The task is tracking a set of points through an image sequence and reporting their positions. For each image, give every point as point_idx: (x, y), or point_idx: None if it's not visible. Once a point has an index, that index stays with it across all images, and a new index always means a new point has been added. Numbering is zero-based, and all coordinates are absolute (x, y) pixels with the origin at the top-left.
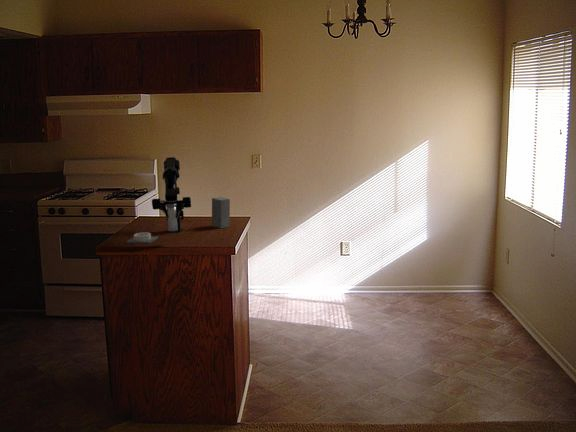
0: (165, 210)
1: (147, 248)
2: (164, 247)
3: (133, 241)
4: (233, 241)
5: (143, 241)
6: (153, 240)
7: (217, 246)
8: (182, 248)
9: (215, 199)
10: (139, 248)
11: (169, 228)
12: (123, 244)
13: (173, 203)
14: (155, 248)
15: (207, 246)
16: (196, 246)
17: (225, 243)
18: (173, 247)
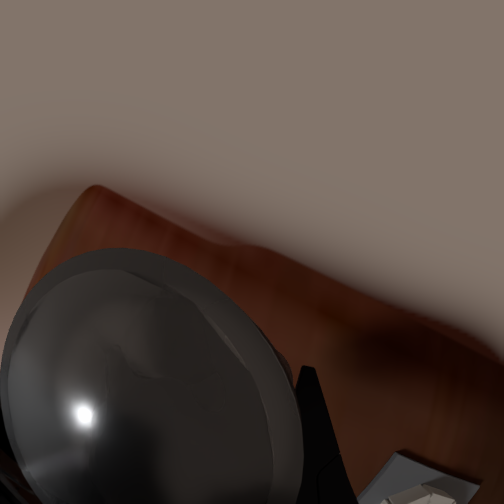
0: (316, 460)
1: (426, 336)
2: (338, 318)
3: (459, 479)
4: (43, 265)
5: (421, 469)
6: (357, 498)
7: (108, 215)
8: (248, 247)
9: None
10: (460, 353)
11: (288, 364)
12: (494, 458)
13: (43, 455)
14: (389, 317)
15: (135, 232)
16: (174, 255)
17: (69, 249)
18: (289, 293)
